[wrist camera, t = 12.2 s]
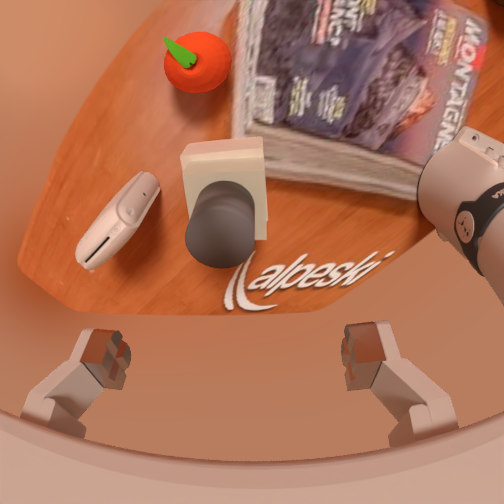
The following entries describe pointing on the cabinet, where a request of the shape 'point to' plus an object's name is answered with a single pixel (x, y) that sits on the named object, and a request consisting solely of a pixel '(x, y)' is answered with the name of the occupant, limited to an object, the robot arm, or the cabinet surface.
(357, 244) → the cabinet surface
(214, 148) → the tower bottom block
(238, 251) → the charcoal cylinder
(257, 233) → the tower top block
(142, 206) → the photo printer
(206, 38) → the clementine
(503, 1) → the utensil holder
